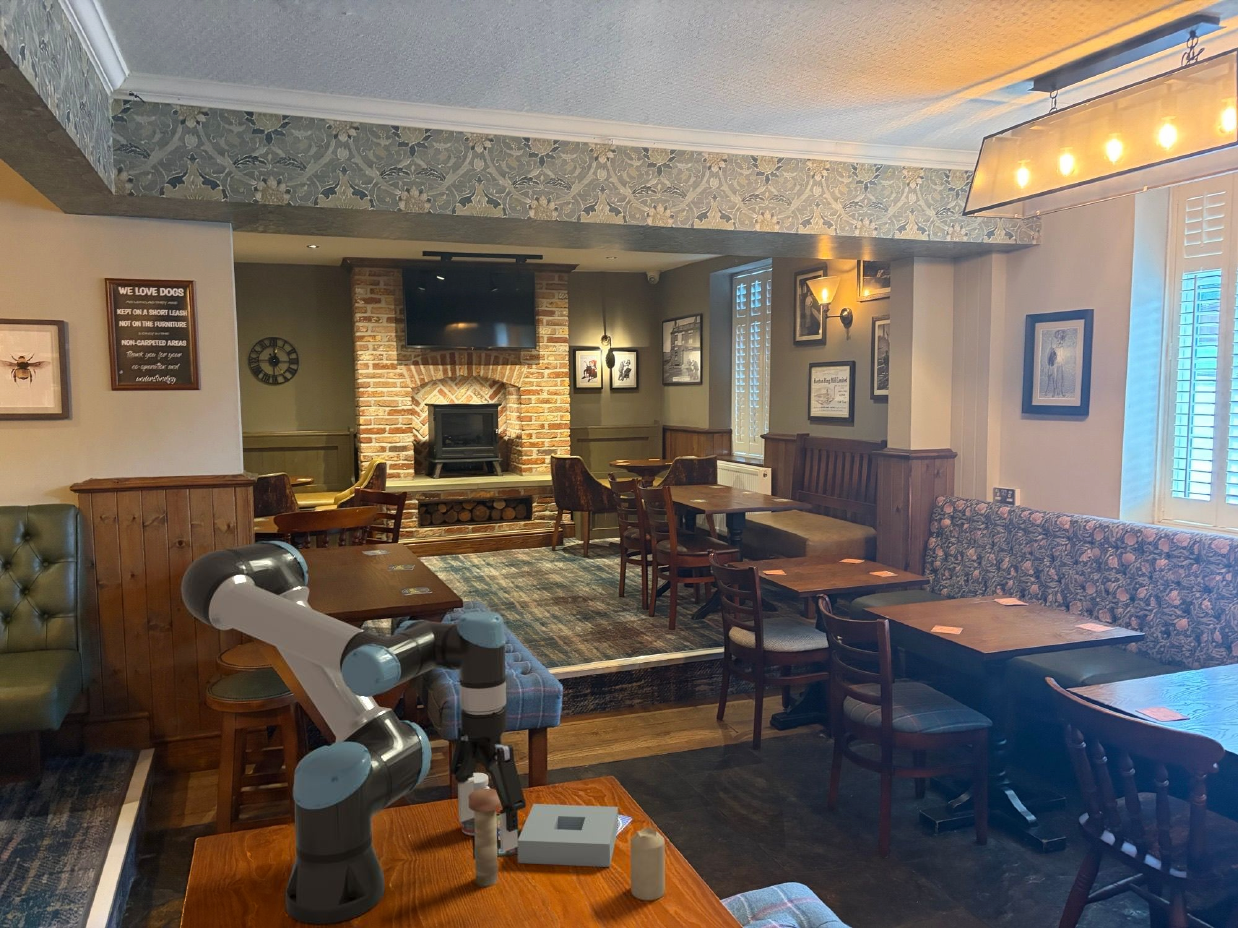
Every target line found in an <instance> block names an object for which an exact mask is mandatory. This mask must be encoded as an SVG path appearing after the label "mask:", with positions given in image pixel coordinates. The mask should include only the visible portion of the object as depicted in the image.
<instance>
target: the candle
mask: <svg viewBox="0 0 1238 928" xmlns="http://www.w3.org/2000/svg"><path fill="white" fill-rule="evenodd" d="M665 843H666V842H665V838H664V837H663V835H661V834H660V833H659V832H658V831H657V830H656V829H654V827H644V828H642V829H641V830H637V831H636V833H635V834H634V835H633V836H632V837H631V838H630V891H631V894H632V896H633V897H635V898H636V899H639V900H642V901H656V900H658V899H660V898H661V897H663V896H664V895H665V891H666V872H665V871H666V863H665V859H666V854H665V853H666V849H665V845H666V844H665Z"/></svg>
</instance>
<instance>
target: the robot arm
mask: <svg viewBox="0 0 1238 928" xmlns="http://www.w3.org/2000/svg"><path fill="white" fill-rule="evenodd" d="M307 571H308V565H307V563H306V560H305V558H304V557H303V555H302V554H301V553H300V551H299V550H297V548H295V547H294V546H293V545H291V544H289V543H287V542H285V541H281V540H280V541H279V540H271V541H268V540H266V541H257V542H253V543H251V544H247V545H242V546H241V545H240V546H237V547H231V548H224V549H217V550H213V551H209V552H207V553H205V554H203V555H201V556H199V557H197V558H196V559H195V560H194V561H193V562H191V564H190V565H189V566H188V567H187V569H186V570H185V572H184V574H183V577H182V580H181V587H180V591H181V597H182V600H183V604H184V606H185V607H186V608H187V610H188V612H189V613H191V614H192V615H193V617H195V618H197V619H198V620H200V622H202V623H203V624H204V623H205V624H206V625H209V626H211V627H213V628H216V629H218V630H221V631H228V630H231V629H234V630H237V631H239V632H242V633H244V634H246V635H248V636H251V637H253V638H256V639H258V640H260V641H263V642H265V643H267V644H269V645H272V646H274V647H276V649H277V650H278V653H280V655H281V657H282V658H283V659H284V661H285V662H286V664H287V666H288V667H289V669H291V671H292V673H293V674H294V676H295V677H296V679H297V680H298V682H299V683H300V685H301V687H302V688H303V690H304V691H305V693H306V694H307V696H309V697H308V698H309V699H310V700H311V702H312V703H313V705H315V708H316V709H317V710H318V712H319V714H320V715H321V716H322V717H323V719H324V721H325V722H326V724H327V725H328V727H329V728H330V730H331V731H332V733H333V734H334V736H335V742H333V743H331V745H322V746H321V747H318V748H316V749H314V750H313V751H311V752H309V753H308V754H306V755H305V756H304V757H303V758H302V759H301V760H300V761H299V762H298V764H297V765H296V768H295V770H294V775H293V779H294V780H293V783H294V784H293V787H292V797H293V809H294V810H293V811H294V812H293V813H294V834H295V859H294V862H293V866H292V869H291V872H290V876H289V878H288V879H289V880H288V883H287V886H286V889H285V910H286V913H287V914H288V915H289V916H290V917H291V918H292V919H294V920H296V921H298V922H301V923H306V924H311V925H312V924H313V925H324V924H325V925H327V924H334V923H339V922H344V921H347V920H351V919H353V918H356V917H359V916H361V915H362V914H364V913H366V912H368V911H369V910H371V909H372V908H374V907H375V906H376V905H377V904H378V903H379V902H380V901H381V900H382V898H383V896H384V893H385V876H384V871H383V870H382V867H381V864H380V861H379V859H378V855H377V853H376V851H375V848H374V846H373V830H372V829H373V828H372V827H373V826H372V818H373V817H374V816H375V815H377V814H378V813H379V812H381V811H382V810H384V809H385V808H387V807H388V806H390V805H391V804H393V803H394V802H395V801H397V800H398V799H400V798H402V797H403V796H406V795H408V794H410V793H411V792H412V791H413V790H414V789H416V787H417V786H418V785H420V784H421V783H422V782H423V781H424V780H425V778H426V777H427V776H428V774H429V771H430V768H431V760H432V759H431V758H432V749H431V748H432V747H431V743H430V741H429V740H430V739H429V738H428V736H427V734H426V732H425V730H423V729H422V727H420V725H419V724H417V723H415V722H411V721H409V720H400V719H399V718H398V717H397V715H396V713H395V712H394V711H393V709H392V708H389V707H382V706H379V704H378V703H377V702H376V700H375V699H374V696H376V695H379V694H384V693H385V692H387V691H390V690H392V689H393V688H394V687H396V686H399V685H401V684H403V683H405V682H407V681H408V680H411V679H413V678H416V677H417V676H419V675H421V674H424V673H427V672H428V671H430V670H434V669H440V670H441V669H442V670H449V671H458V673H459V676H458V677H459V700H460V701H459V703H460V708H461V709H462V710H461V711H460V727H458V728H457V740H456V745H455V747H454V748H455V749H454V752H453V756H452V760H451V764H450V768H449V773H450V775H451V776H454V777H455V778H454V780H455V782H456V783H457V794H458V795H457V797H458V798H457V799H458V821H459V822H460V823H461V822H463V821H466V820H469V819H471V818H474V811H473V810H471V809H470V808H469V795H470V794H471V793H472V792H474V780H473V779H470V780H468V779H469V778H472V777H474V776H473V775H474V774H473V773H475V771H476V768H477V767H478V765H479V764H480V765H481V766H482V767H483V768H484V772H485V773H487V774H489V777H490V779H491V782H492V784H493V787H494V789H495V790H496V792H497V795H498V797H499V800H500V803H501V807H502V808H501V809H500V810H499V811H498V812H499V814H500V838H501V851H502V852H505V851H508V850H510V849H513V848H515V847H518V836H517V828H519V818H518V819H517V814H518V811H520V810H523V809H525V808H526V806H527V804H526V799H525V795H524V793H523V788H522V784H521V780H520V778H519V773H518V768H517V766H516V761H515V755H514V754H515V753H514V746H513V745H512V744H507V745H503V742H502V734H503V733H505V731H507V728H508V708H507V707H506V704H507V689H506V688H507V683H506V635H505V625H504V624H505V623H504V618H503V617H502V616H501V615H500V614H499V613H498V612H494V611H471V612H467V613H464V614H462V615H460V616H459V618H458V619H457V623H450V622H448V623H447V622H438V621H429V620H425V619H419V620H406V621H403V622H402V623H400V625H399V627H398V628H396V629H395V630H394V633H393V635H390V636H387V637H384V636H380V635H377V634H375V633H372V632H369V631H366V630H365V629H361V628H359V627H356V626H354V625H352V624H350V623H347V622H345V621H342V620H339V619H337V618H335V617H332V616H329V615H327V614H325V613H322V612H320V611H317V610H315V609H313V608H312V607H311V606H310V604H309V602H308V598H309V595H310V588H309V587H308V580H309V574H308V573H307ZM517 820H518V821H517Z"/></svg>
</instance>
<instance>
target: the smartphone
mask: <svg viewBox="0 0 1238 928" xmlns="http://www.w3.org/2000/svg"><path fill="white" fill-rule="evenodd" d="M518 816H519V815H518V813H517V819H518V820H517V821H518V822H519V817H518ZM496 822H497V858H500V857H513V856H518V847H515V848H513V849H510V850H508V851H505V852H502V851H501V838H500V813H496ZM519 829H520V828H519V827H518V828H517V836H518V838H519V836H520V832H519V831H520V830H519ZM473 850H474V851H473V853H474V856H473V858H474V860H475V846H474V849H473Z"/></svg>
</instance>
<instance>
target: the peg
mask: <svg viewBox="0 0 1238 928" xmlns="http://www.w3.org/2000/svg"><path fill="white" fill-rule="evenodd" d="M500 807H502V805H501V803H500V800H499V797H498V795H497V792H496V789H495V788H490V789H480V790H476V791H474V792H472V793H471V794H470V795H469V808H470V809H471V810H473V811H474V821H475V836H474V847H475V859H474V862H475V863H474V866H475V867H474V868H475V870H474V871H475V884H476V885H477V886H479V887H484V888H485V887H490V886H493V885H495V884H497V883H498V880H499V879H498V857H497V822H496V814H497V810H498V809H499V808H500Z"/></svg>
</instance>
